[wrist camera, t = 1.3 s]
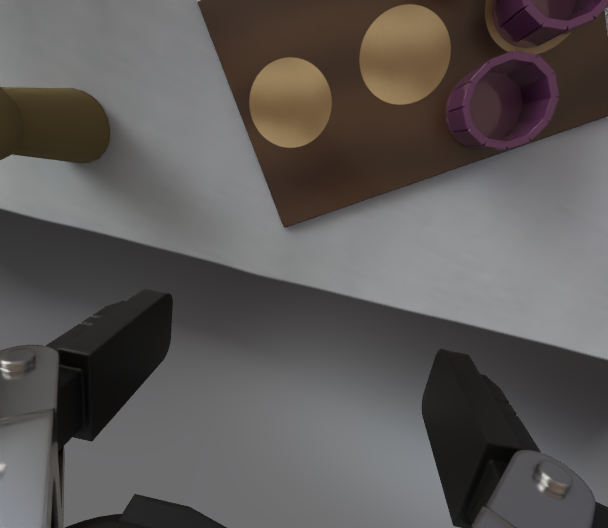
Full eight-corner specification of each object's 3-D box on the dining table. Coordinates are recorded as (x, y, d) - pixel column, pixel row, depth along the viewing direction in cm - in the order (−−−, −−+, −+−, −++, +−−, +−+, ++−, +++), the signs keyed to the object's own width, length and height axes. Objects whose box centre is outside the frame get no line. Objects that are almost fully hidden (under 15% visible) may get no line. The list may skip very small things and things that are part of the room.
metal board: (200, 4, 28) (197, 1, 27) (572, -184, 22) (579, -193, 22) (285, 226, 32) (284, 228, 32) (612, 113, 27) (618, 112, 26)
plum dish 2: (437, 85, 27) (453, 73, 23) (517, 53, 26) (549, 35, 22) (455, 159, 28) (474, 161, 24) (531, 132, 27) (565, 130, 23)
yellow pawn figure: (123, 123, 31) (9, 111, 21) (88, 177, 33) (-33, 192, 22) (64, 71, 30) (-86, 32, 20) (31, 130, 32) (-121, 122, 22)
